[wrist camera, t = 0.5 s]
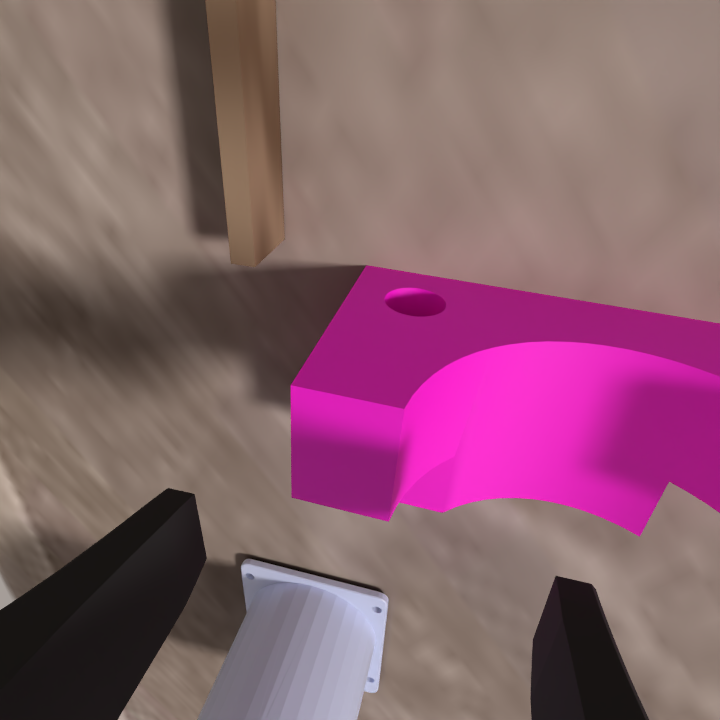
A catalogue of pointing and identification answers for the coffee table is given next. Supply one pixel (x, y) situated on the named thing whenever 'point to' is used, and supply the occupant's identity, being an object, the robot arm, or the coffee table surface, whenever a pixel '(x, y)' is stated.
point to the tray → (248, 124)
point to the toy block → (503, 402)
